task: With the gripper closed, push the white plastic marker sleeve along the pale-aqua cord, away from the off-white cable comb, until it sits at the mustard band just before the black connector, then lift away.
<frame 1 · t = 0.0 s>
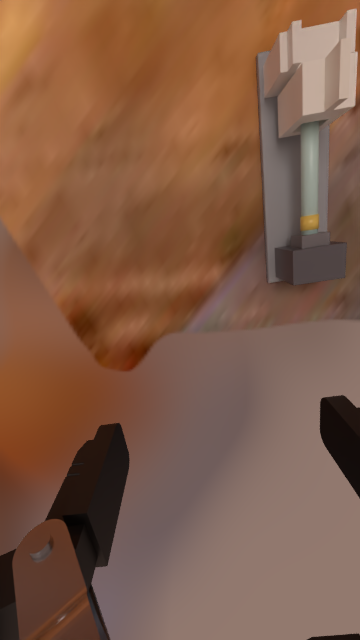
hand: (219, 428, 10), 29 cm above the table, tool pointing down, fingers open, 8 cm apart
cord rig: (293, 175, 34), on the table
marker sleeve: (318, 95, 26), point 6 cm above the table, slide at 0.0 cm
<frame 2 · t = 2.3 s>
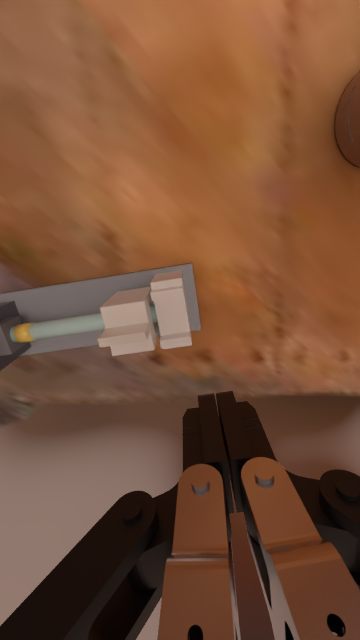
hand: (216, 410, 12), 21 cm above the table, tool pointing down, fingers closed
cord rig: (93, 312, 32), on the table
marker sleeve: (131, 322, 26), point 6 cm above the table, slide at 0.0 cm
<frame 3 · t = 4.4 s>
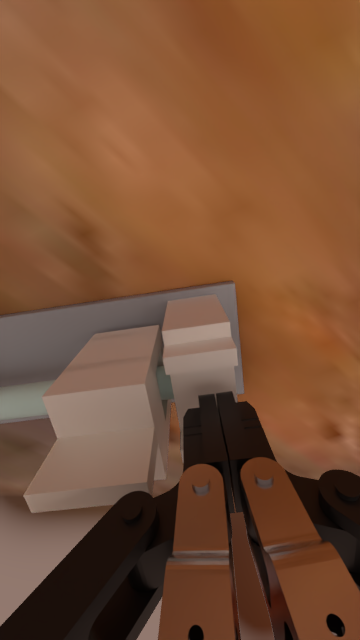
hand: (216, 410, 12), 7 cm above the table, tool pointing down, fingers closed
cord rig: (59, 361, 19), on the table
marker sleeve: (119, 408, 12), point 6 cm above the table, slide at 0.2 cm, touching gripper
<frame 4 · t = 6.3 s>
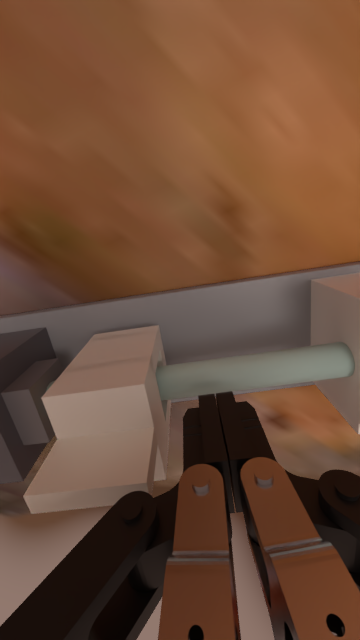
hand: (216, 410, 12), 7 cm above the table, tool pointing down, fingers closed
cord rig: (181, 345, 18), on the table
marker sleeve: (118, 409, 12), point 6 cm above the table, slide at 9.0 cm, touching gripper
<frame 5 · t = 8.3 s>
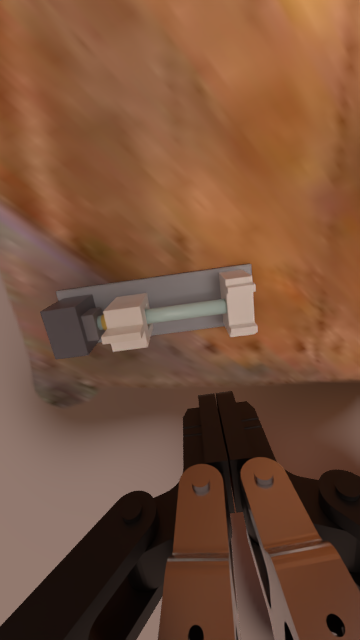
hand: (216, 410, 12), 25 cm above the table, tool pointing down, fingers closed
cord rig: (159, 305, 36), on the table
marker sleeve: (129, 323, 30), point 6 cm above the table, slide at 9.1 cm
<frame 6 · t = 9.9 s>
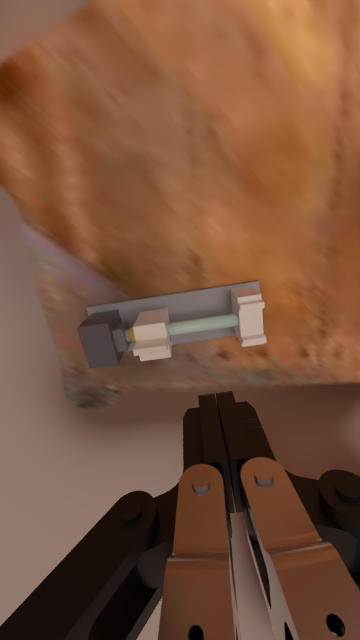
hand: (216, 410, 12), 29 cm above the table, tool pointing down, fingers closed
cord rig: (177, 318, 41), on the table
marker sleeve: (153, 336, 35), point 6 cm above the table, slide at 9.1 cm
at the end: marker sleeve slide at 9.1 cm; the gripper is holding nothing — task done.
